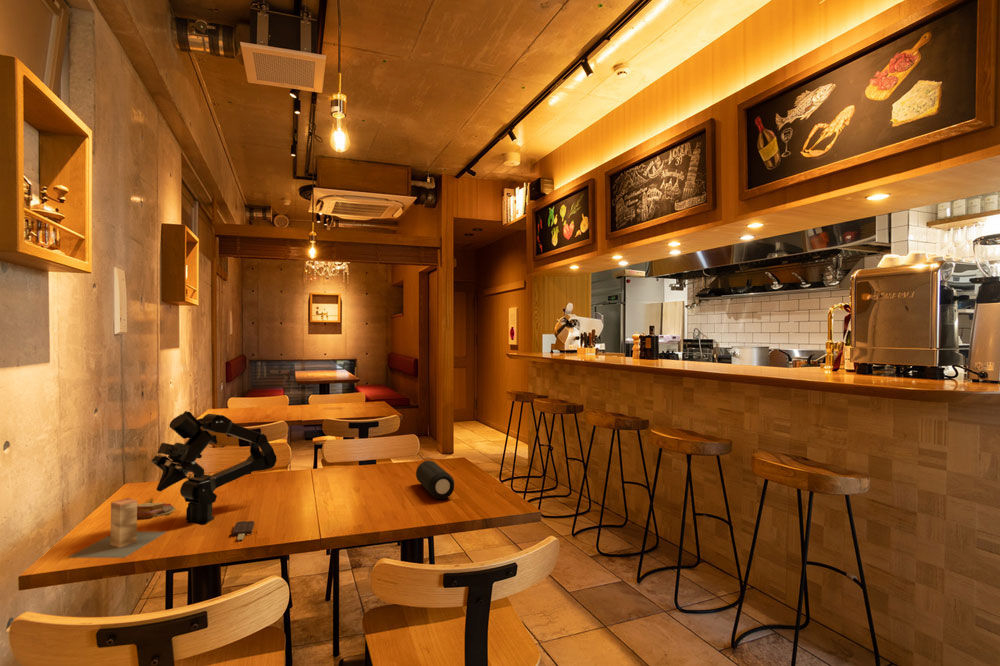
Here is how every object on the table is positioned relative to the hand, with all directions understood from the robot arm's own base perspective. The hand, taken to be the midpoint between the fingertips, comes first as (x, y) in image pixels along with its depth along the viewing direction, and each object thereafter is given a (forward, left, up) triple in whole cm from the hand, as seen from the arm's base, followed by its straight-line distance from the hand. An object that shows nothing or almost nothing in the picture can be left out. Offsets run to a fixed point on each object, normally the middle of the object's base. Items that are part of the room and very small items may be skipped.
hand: (158, 490), depth 161 cm
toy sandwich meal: (+13, -19, -14) cm, 27 cm away
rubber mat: (+5, +9, -13) cm, 17 cm away
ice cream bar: (-24, -2, -14) cm, 28 cm away
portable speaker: (-78, -47, -14) cm, 92 cm away
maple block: (+4, +8, -13) cm, 16 cm away
